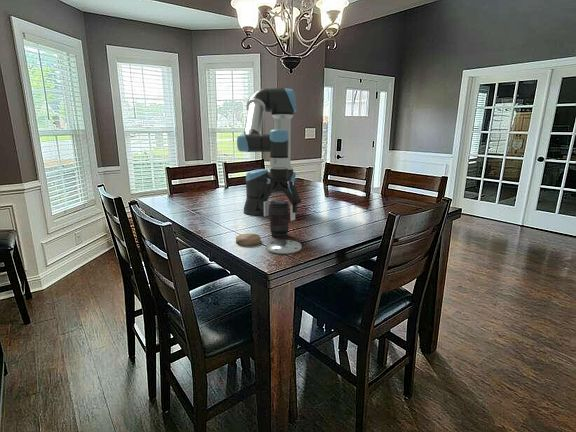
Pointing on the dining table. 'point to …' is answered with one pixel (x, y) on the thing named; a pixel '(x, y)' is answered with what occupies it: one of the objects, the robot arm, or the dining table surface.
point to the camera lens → (279, 218)
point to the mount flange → (283, 247)
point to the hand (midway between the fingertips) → (279, 217)
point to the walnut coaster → (248, 239)
